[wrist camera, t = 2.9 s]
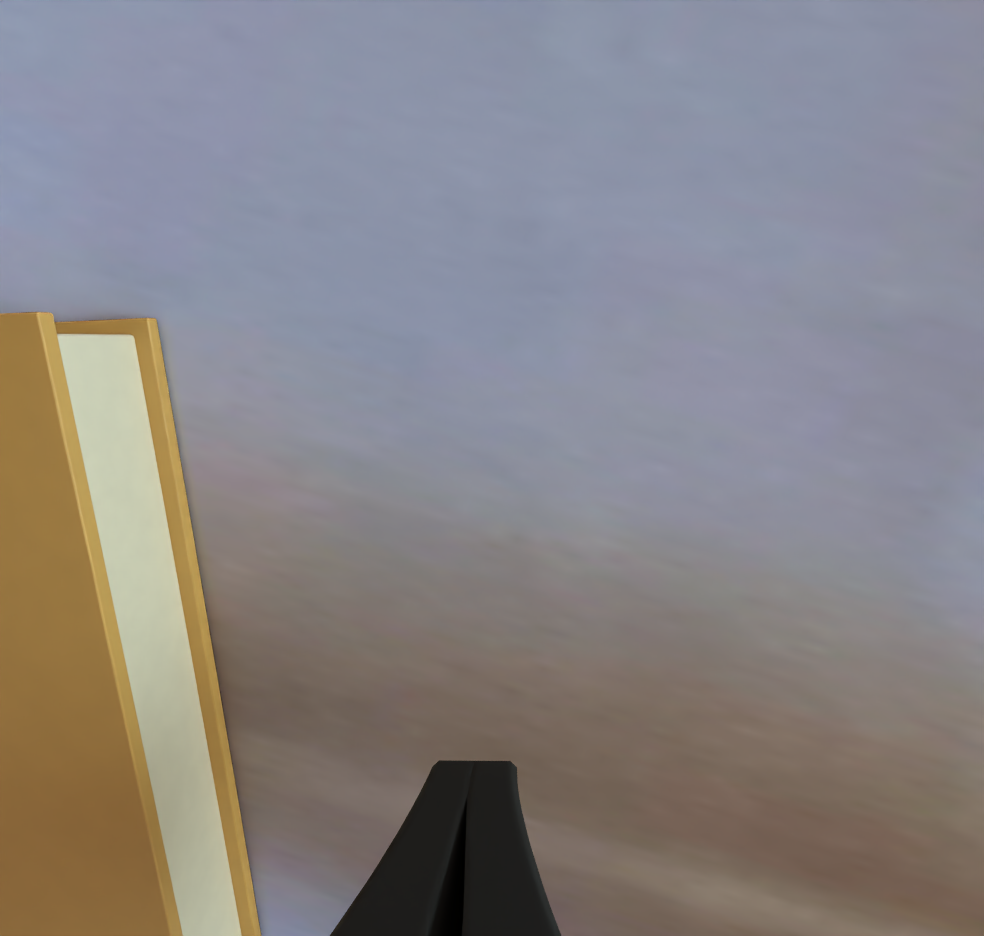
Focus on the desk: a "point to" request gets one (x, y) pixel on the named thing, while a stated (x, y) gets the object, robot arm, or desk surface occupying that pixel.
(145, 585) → the book
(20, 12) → the desk surface
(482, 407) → the desk surface
